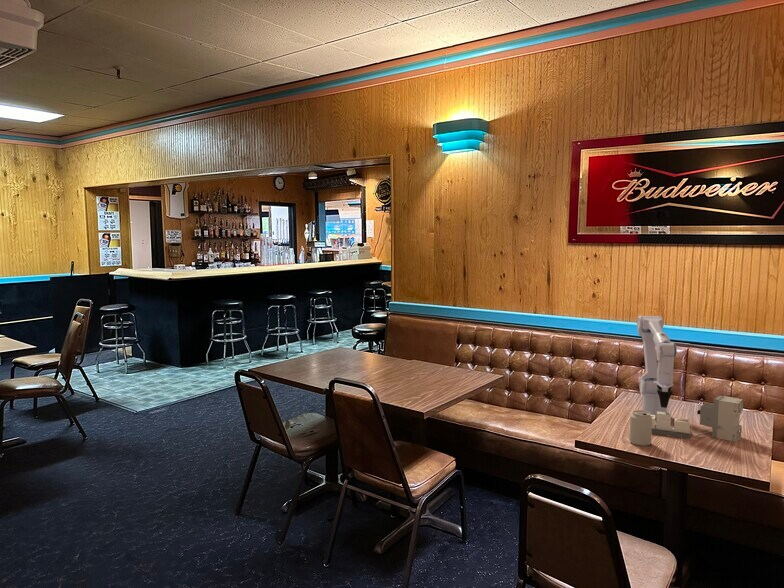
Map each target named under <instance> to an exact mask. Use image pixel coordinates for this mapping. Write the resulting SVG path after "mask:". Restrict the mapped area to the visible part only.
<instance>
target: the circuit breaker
mask: <svg viewBox="0 0 784 588" xmlns="http://www.w3.org/2000/svg"><path fill="white" fill-rule="evenodd" d="M743 410H744V403H743V399H742V398H738V397H731V396H727V395H718V396H716V397H715V398H714V399H713V403H712V402H705V403H704V404H702V405H700V409H698V410H697V411H696V412H697V415H699V425H700V426H703V427H704V426H705V427H708V428H711V429H712V431H711V437H712V438H716V439H720V440H725V441H729V442H734V443H737V442H738V441H739V440H740V439H741V438H742V428H743V426H742V424H740V418H741V417H740V415H741V414H742V411H743Z"/></svg>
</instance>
